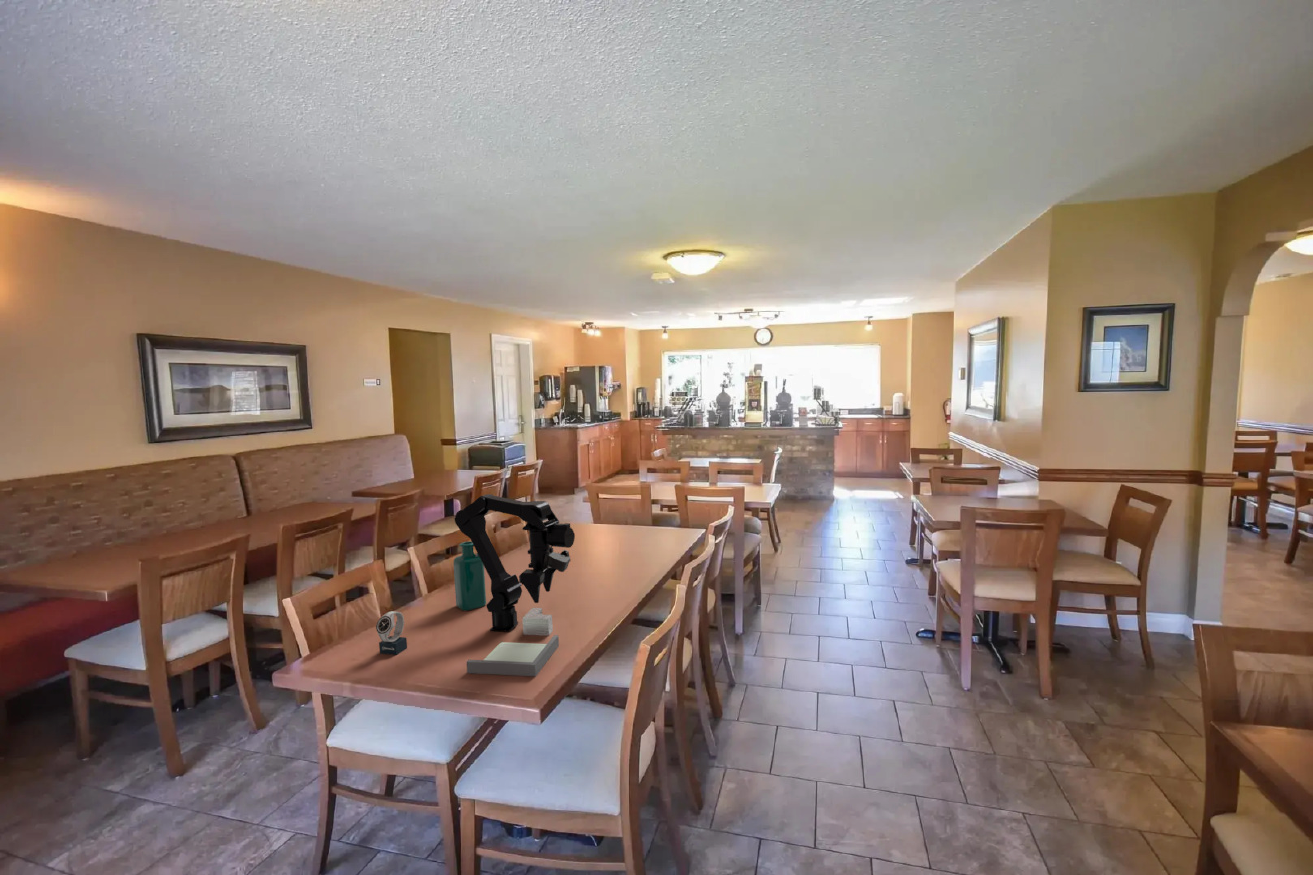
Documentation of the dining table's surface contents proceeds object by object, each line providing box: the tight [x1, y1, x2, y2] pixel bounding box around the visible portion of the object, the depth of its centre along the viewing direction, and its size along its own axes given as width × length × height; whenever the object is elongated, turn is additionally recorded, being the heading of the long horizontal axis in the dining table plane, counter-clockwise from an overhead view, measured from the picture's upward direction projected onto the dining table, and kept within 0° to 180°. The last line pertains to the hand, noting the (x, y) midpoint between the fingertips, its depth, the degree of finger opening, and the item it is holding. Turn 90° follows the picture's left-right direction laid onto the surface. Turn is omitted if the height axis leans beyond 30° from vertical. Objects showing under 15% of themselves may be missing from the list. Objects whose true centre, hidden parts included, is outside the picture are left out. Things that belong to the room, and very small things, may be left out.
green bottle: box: [453, 540, 487, 612], centre depth 192 cm, size 10×8×22 cm
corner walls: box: [465, 634, 560, 677], centre depth 151 cm, size 18×17×3 cm
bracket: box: [521, 607, 554, 636], centre depth 170 cm, size 8×8×5 cm
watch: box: [375, 610, 408, 656], centre depth 159 cm, size 6×8×11 cm
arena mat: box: [483, 641, 548, 662], centre depth 152 cm, size 16×16×1 cm
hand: (542, 596), depth 166 cm, fingers open, 9 cm apart
